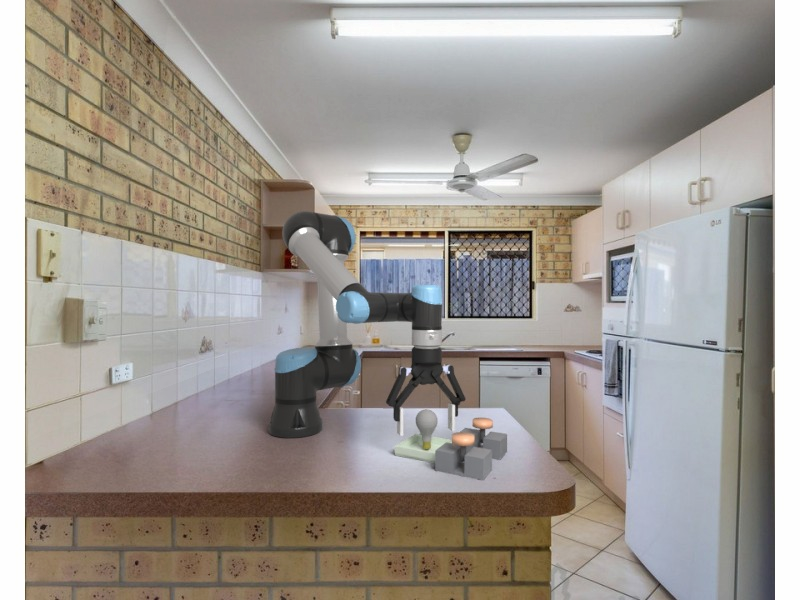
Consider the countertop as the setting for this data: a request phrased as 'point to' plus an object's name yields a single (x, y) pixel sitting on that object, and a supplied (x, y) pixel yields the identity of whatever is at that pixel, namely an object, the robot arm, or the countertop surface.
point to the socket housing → (472, 455)
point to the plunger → (463, 442)
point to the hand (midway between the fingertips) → (426, 432)
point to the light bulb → (426, 426)
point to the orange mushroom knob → (482, 426)
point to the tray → (419, 448)
